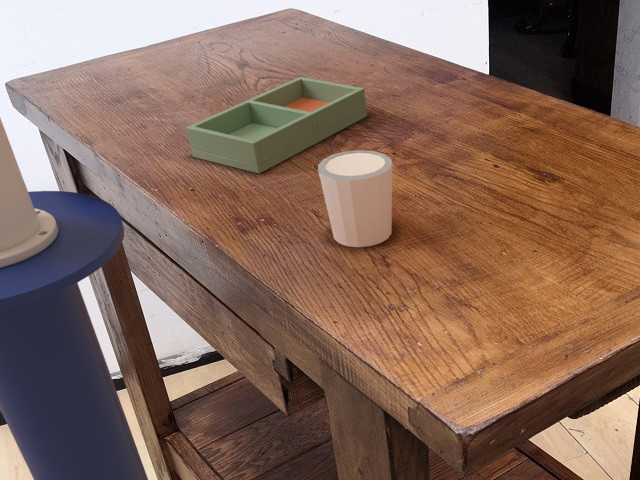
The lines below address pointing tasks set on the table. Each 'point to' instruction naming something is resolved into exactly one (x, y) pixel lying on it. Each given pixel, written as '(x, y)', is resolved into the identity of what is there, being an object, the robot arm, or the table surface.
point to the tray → (277, 124)
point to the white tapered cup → (358, 196)
